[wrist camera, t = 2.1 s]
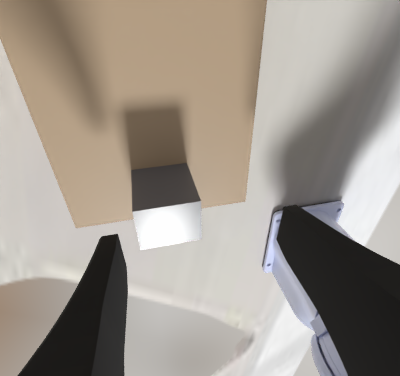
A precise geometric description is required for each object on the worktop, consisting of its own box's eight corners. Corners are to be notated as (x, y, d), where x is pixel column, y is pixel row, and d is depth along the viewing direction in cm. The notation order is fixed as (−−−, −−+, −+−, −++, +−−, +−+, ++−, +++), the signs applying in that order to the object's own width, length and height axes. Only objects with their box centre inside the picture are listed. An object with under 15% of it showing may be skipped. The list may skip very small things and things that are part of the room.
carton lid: (242, 195, 17) (268, 240, 14) (77, 221, 16) (64, 278, 12) (273, -134, 9) (355, -210, 6) (-70, -160, 7) (-229, -292, 4)
